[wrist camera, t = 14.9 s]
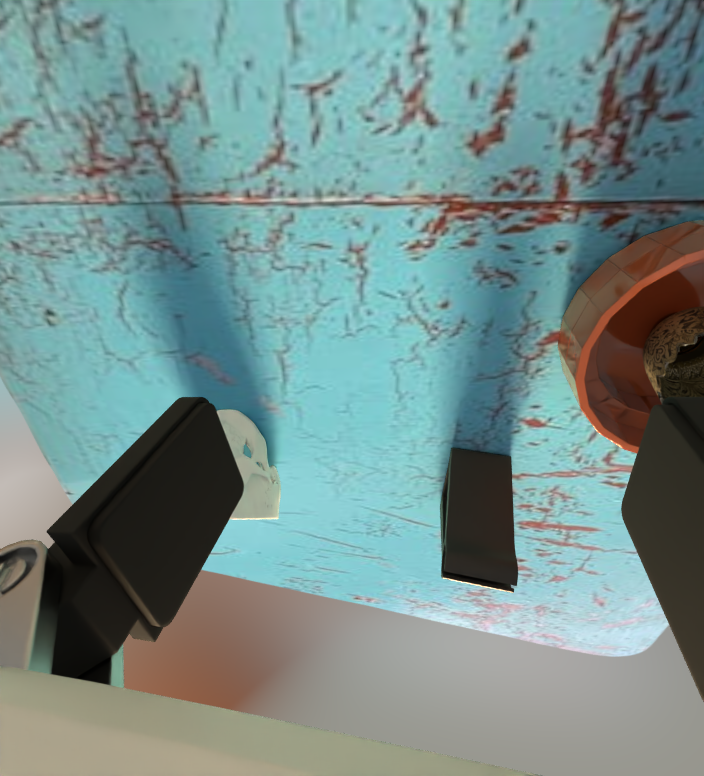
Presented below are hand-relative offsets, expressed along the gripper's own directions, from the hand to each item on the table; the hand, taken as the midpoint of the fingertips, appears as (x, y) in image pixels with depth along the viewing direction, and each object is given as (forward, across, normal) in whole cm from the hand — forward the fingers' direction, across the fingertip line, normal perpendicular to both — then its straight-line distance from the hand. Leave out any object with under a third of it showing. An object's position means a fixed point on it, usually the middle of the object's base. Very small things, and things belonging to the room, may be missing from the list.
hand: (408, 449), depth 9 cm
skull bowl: (+27, +24, +26) cm, 44 cm away
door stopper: (+26, -3, +27) cm, 38 cm away
